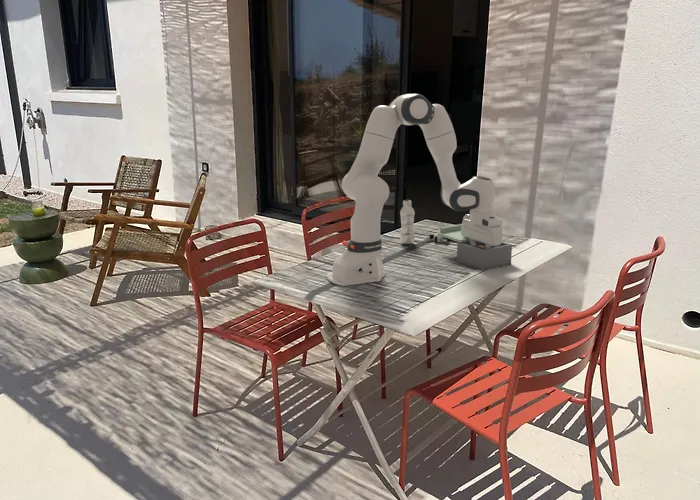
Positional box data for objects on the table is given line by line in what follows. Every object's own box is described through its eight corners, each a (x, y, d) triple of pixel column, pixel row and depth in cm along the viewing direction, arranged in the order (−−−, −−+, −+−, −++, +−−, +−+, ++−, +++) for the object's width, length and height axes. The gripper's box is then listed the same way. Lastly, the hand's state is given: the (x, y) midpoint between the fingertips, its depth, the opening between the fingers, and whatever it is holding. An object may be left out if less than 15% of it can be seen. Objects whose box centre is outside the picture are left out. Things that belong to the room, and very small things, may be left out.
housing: (481, 270, 215) (482, 250, 213) (456, 261, 228) (457, 242, 225) (511, 264, 222) (512, 244, 219) (485, 255, 234) (485, 236, 232)
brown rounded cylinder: (479, 263, 220) (479, 249, 219) (472, 261, 224) (472, 246, 222) (486, 261, 222) (487, 247, 220) (480, 259, 225) (480, 245, 224)
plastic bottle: (397, 242, 257) (397, 200, 252) (411, 241, 259) (411, 198, 254) (403, 246, 251) (402, 202, 246) (416, 244, 253) (417, 201, 248)
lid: (460, 242, 224) (460, 235, 223) (437, 235, 236) (437, 228, 235) (489, 237, 230) (489, 230, 230) (465, 230, 243) (465, 223, 242)
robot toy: (446, 247, 251) (465, 238, 261) (446, 238, 250) (464, 229, 259) (424, 243, 259) (443, 234, 269) (424, 234, 258) (443, 225, 268)
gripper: (457, 214, 225) (456, 247, 229) (493, 223, 208) (491, 259, 212) (469, 212, 228) (468, 244, 232) (505, 221, 211) (504, 256, 215)
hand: (480, 251), depth 222 cm, fingers open, 6 cm apart
